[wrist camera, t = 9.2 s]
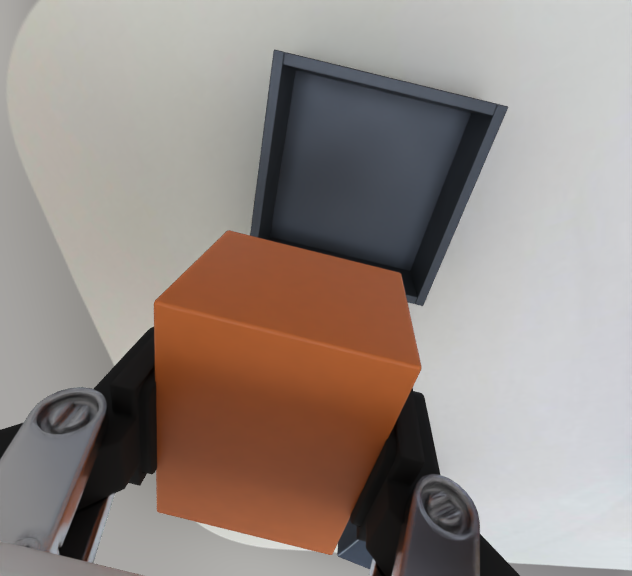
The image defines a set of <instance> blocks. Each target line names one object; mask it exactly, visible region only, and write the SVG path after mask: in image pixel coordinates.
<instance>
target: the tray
mask: <svg viewBox="0 0 632 576" xmlns="http://www.w3.org/2000/svg"><path fill="white" fill-rule="evenodd" d="M507 109H508V106H504V105H500V104H495V103H491V102H487V101H483V100H479V99H475V98H471V97H467V96H463V95H459V94H454V93H450V92H446V91H442V90H438V89H434V88H430V87H426V86H422V85H418V84H414V83H409V82H405V81H401V80H397V79H393V78H389V77H385V76H381V75H377V74H373V73H368V72H364V71H360V70H356V69H352V68H348V67H344V66H340V65H336V64H332V63H328V62H323V61H319V60H315V59H311V58H307V57H303V56H299V55H295V54H291V53H287V52H282V51H278V50H274V53H273V61H272V69H271V77H270V84H269V92H268V100H267V108H266V116H265V124H264V131H263V139H262V147H261V155H260V163H259V171H258V179H257V186H256V194H255V202H254V210H253V218H252V226H251V233H250V236H254V237H258V238H262V239H266V240H270V241H274V242H278V243H282V244H286V245H290V246H294V247H298V248H302V249H306V250H310V251H314V252H318V253H322V254H326V255H330V256H334V257H338V258H342V259H346V260H350V261H354V262H359V263H363V264H367V265H371V266H375V267H379V268H383V269H387V270H391V271H395V272H399V273H401V275H402V280H403V285H404V289H405V294H406V298H407V302H409V303H413V304H417V305H421V306H423V305H424V302H425V300H426V298H427V295H428V293H429V291H430V288H431V286H432V284H433V281H434V279H435V277H436V274H437V272H438V270H439V267H440V265H441V263H442V260H443V258H444V256H445V253H446V251H447V249H448V246H449V244H450V242H451V239H452V237H453V235H454V232H455V230H456V228H457V225H458V223H459V221H460V218H461V216H462V214H463V211H464V209H465V207H466V204H467V202H468V200H469V197H470V195H471V193H472V190H473V188H474V186H475V183H476V181H477V179H478V176H479V174H480V172H481V169H482V167H483V165H484V162H485V160H486V158H487V155H488V153H489V151H490V148H491V146H492V144H493V141H494V139H495V137H496V134H497V132H498V130H499V127H500V125H501V123H502V120H503V118H504V116H505V113H506V111H507Z"/></svg>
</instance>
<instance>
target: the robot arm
mask: <svg viewBox="0 0 632 576" xmlns="http://www.w3.org/2000/svg"><path fill="white" fill-rule="evenodd" d="M156 469H157V413H156V382H155V345H154V327H152V328H150V329H149V330H148V331H147V332H146V333H145V334H144V335H143V336H142V337H141V338H140V339H139V340H138V342H137V343H136V344H135V345H134V346H133V347H132V348H131V349H130V350H129V351H128V352H127V353H126V354H125V356H124V357H123V358H122V359H121V360H120V361H119V362H118V363H117V364H116V365H115V366H114V367H113V368H112V370H111V371H110V372H109V373H108V374H107V375H106V376H105V377H104V378H103V379H102V380H101V381H100V382H99V384H98V385H97V386H96V387H95V388H94V389H91V388H84V387H78V388H69V389H65V390H61V391H58V392H56V393H54V394H52V395H50V396H48V397H46V398H45V399H43V400H42V401H40V402H39V403H38V404H37V405H36V406H35V407H34V409H33V410H32V411H31V412H30V414H29V415H28V417H27V418H26V420H25V421H24V423H21V424H18V425H14V426H11V427H8V428H5V429H2V430H0V576H143V575H139V574H135V573H131V572H127V571H123V570H119V569H114V568H110V567H106V566H102V565H98V564H94V563H93V562H94V559H95V556H96V553H97V550H98V546H99V543H100V540H101V537H102V533H103V530H104V527H105V524H106V521H107V518H108V514H109V511H110V508H111V505H112V502H113V499H114V496H115V493H116V492H118V491H121V490H122V489H125V487H126V485H127V484H128V483H132V484H136V485H141V483H142V481H143V479H144V478H145V476H146V474H147V473H149V474H153V473H154V472H155V471H156ZM350 522H351V524H354V525H357V531H356V539H357V540H361V541H365V542H366V549H367V551H368V552H369V554H370V555H371V556H372V558H373V560H372V564H371V568H370V572H369V576H520V575H519V574H518V573H517V572H516V571H515V570H514V569H513V568H512V567H511V566H510V565H509V564H508V563H507V562H506V561H505V560H504V558H503V557H502V556H501V555H500V554H499V553H498V552H497V551H496V550H495V549H494V548H493V547H492V546H491V545H490V544H489V543H488V542H487V541H486V540H485V539H484V538H483V536H482V535H481V534H480V522H479V516H478V512H477V509H476V507H475V505H474V502H473V501H472V499H471V498H470V497H469V495H468V494H467V492H466V491H465V490H463V489H462V488H461V487H460V486H459V485H458V484H457V483H455V482H454V481H452V480H451V479H449V478H447V477H444V476H441V475H440V471H439V466H438V461H437V456H436V452H435V447H434V442H433V437H432V432H431V427H430V422H429V417H428V412H427V407H426V403H425V398H424V395H423V394H422V393H419V392H415V391H413V388H412V390H411V392H410V394H409V396H408V398H407V400H406V402H405V404H404V406H403V408H402V410H401V412H400V414H399V417H398V419H397V421H396V423H395V425H394V427H393V429H392V431H391V433H390V435H389V437H388V439H387V440H386V442H385V444H384V446H383V448H382V450H381V452H380V455H379V457H378V459H377V461H376V463H375V465H374V467H373V469H372V471H371V473H370V475H369V478H368V480H367V482H366V484H365V486H364V488H363V490H362V492H361V494H360V496H359V498H358V501H357V503H356V505H355V507H354V509H353V511H352V513H351V515H350Z"/></svg>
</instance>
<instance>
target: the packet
mask: <svg viewBox="0 0 632 576" xmlns="http://www.w3.org/2000/svg"><path fill="white" fill-rule="evenodd" d="M154 345H155V382H156V413H157V469H156V481H157V511H158V512H159V513H164V514H167V515H172V516H176V517H180V518H184V519H188V520H192V521H196V522H200V523H204V524H208V525H212V526H216V527H220V528H224V529H228V530H232V531H236V532H240V533H244V534H248V535H252V536H256V537H260V538H264V539H268V540H272V541H276V542H280V543H284V544H288V545H292V546H296V547H300V548H304V549H308V550H313V551H317V552H321V553H325V554H329V555H332V554H333V552H334V550H335V548H336V546H337V544H338V541H339V539H340V537H341V535H342V533H343V531H344V529H345V527H346V525H347V523H348V521H349V519H350V515H351V513H352V511H353V509H354V507H355V505H356V503H357V501H358V498H359V496H360V494H361V492H362V490H363V488H364V486H365V484H366V482H367V480H368V478H369V475H370V473H371V471H372V469H373V467H374V465H375V463H376V461H377V459H378V457H379V455H380V452H381V450H382V448H383V446H384V444H385V442H386V440H387V439H388V437H389V435H390V433H391V431H392V429H393V427H394V425H395V423H396V421H397V419H398V417H399V414H400V412H401V410H402V408H403V406H404V404H405V402H406V400H407V398H408V396H409V394H410V392H411V390H412V387H413V385H414V383H415V381H416V379H417V377H418V375H419V373H420V371H421V363H420V358H419V353H418V349H417V344H416V340H415V335H414V331H413V326H412V321H411V317H410V312H409V308H408V303H407V298H406V294H405V289H404V285H403V280H402V275H401V273H399V272H395V271H391V270H387V269H383V268H379V267H375V266H371V265H367V264H363V263H359V262H354V261H350V260H346V259H342V258H338V257H334V256H330V255H326V254H322V253H318V252H314V251H310V250H306V249H302V248H298V247H294V246H290V245H286V244H282V243H278V242H274V241H270V240H266V239H262V238H258V237H254V236H250V235H245V234H241V233H237V232H233V231H226V232H225V233H224V234H223V235H222V236H221V237H220V238H219V239H218V240H217V241H216V242H215V243H214V244H213V245H212V246H211V247H210V248H209V249H208V250H207V251H206V252H205V253H204V254H203V255H202V256H201V257H200V258H199V259H198V260H196V261H195V262H194V263H193V264H192V265H191V266H190V267H189V268H188V269H187V270H186V271H185V272H184V273H183V274H182V275H181V276H180V277H179V278H178V279H177V280H176V281H175V282H174V283H173V284H172V285H171V286H170V287H169V288H168V289H167V290H166V291H165V292H163V293H162V294H161V295H160V296H159V297H158V298H157V299H156V300H155V302H154Z"/></svg>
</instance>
